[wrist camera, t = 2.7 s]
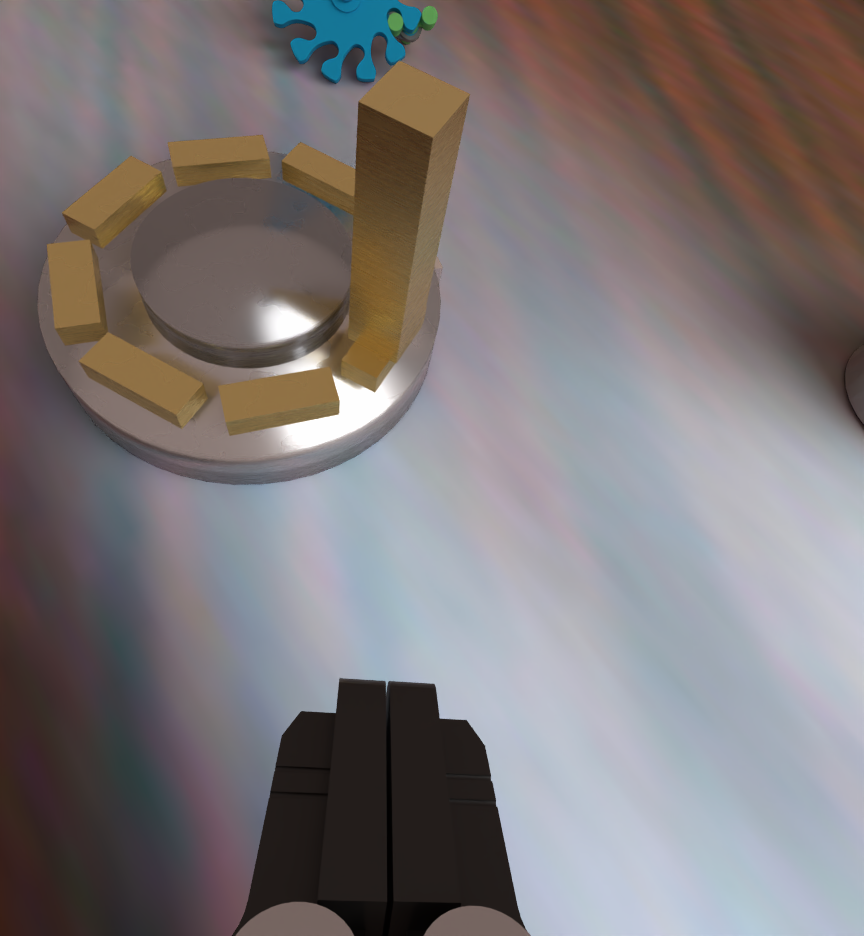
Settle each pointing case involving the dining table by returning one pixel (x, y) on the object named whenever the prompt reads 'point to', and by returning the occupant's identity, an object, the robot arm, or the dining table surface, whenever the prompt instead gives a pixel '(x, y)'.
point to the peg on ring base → (353, 190)
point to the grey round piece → (237, 326)
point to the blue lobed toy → (354, 30)
